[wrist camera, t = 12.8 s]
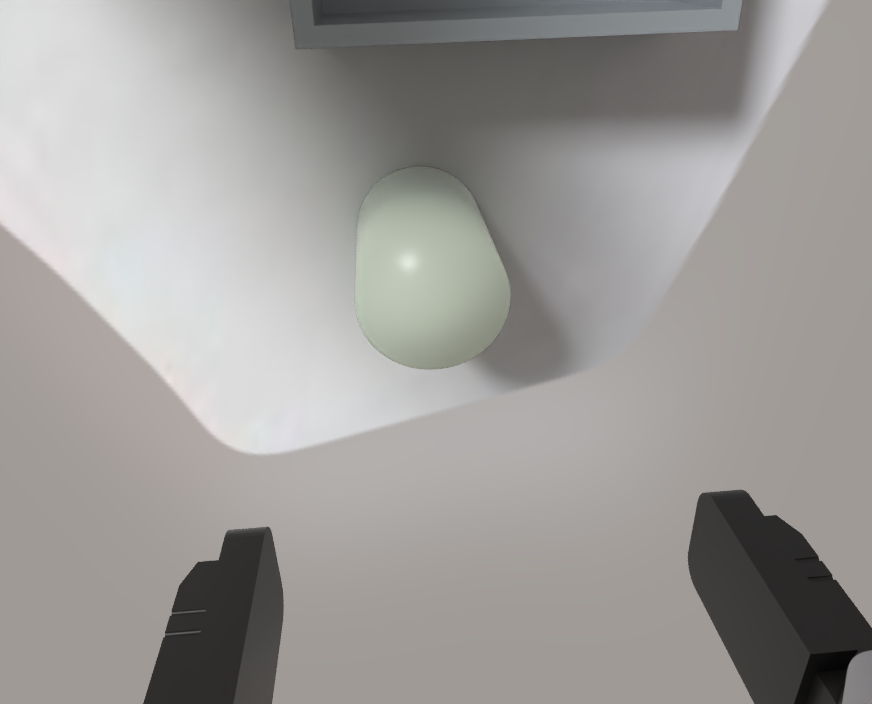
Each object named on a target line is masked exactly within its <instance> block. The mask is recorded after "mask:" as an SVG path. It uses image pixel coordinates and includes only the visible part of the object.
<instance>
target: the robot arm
mask: <svg viewBox="0 0 872 704" xmlns="http://www.w3.org/2000/svg"><path fill="white" fill-rule="evenodd" d="M688 565H689V571H690V575H691V579H692V582H693V584H694V586H695V589H696V591H697V593H698V595H699V597H700V598H701V600H702V602H703V604H704V606H705V608H706V610H707V612H708V614H709V616H710V618H711V620H712V622H713V624H714V626H715V628H716V630H717V632H718V634H719V636H720V637H721V639H722V641H723V643H724V645H725V647H726V649H727V651H728V653H729V655H730V657H731V659H732V661H733V663H734V665H735V667H736V669H737V671H738V673H739V674H740V676H741V678H742V680H743V682H744V684H745V686H746V688H747V690H748V692H749V694H750V696H751V698H752V700H753V702H754V704H872V628H871V627H870V625H869V624H868V622H867V621H866V620H865V618H864V617H863V615H862V614H861V613H860V611H859V610H858V609H857V607H856V606H855V605H854V603H853V602H852V601H851V599H850V598H849V597H848V596H847V594H846V593H845V591H844V590H843V589H842V587H841V586H840V585H839V583H838V582H837V581H836V580H833V578H832V574H831V573H830V571H829V570H828V569H827V567H826V566H825V565H824V563H823V562H822V561H819V558H818V555H817V554H816V553H815V551H814V550H813V548H812V547H811V546H810V544H809V543H808V542H807V540H806V539H805V538H804V536H803V535H802V534H801V533H800V532H798V531H797V530H796V529H794V528H793V527H791V526H790V525H789V524H787V523H786V522H785V521H783V520H782V519H780V518H779V517H778V516H776V515H773V516H764V515H763V514H762V512H761V511H760V509H759V508H758V507H757V505H756V504H755V502H754V501H753V499H752V498H751V497H750V495H749V494H748V493H747V492H746V491H744V490H733V491H720V492H709V493H702V494H701V495H700V497H699V499H698V503H697V508H696V514H695V519H694V524H693V530H692V535H691V541H690V546H689V552H688ZM283 606H284V605H283V589H282V582H281V578H280V572H279V567H278V563H277V557H276V552H275V547H274V542H273V537H272V532H271V530H270V528H269V527H260V528H248V529H236V530H228V531H227V532H226V535H225V538H224V542H223V546H222V550H221V554H220V557H219V560H218V561H217V560H216V561H204V562H198V563H197V564H196V565H195V567H194V568H193V569H192V570H191V571H190V573H189V574H188V575H187V577H186V578H185V579H184V580H183V582H182V583H181V584H180V586H179V588H178V592H177V595H176V598H175V602H174V605H173V608H172V616H170V618H169V621H168V624H167V628H166V631H165V638H163V641H162V644H161V647H160V651H159V654H158V657H157V661H156V664H155V667H154V671H153V674H152V677H151V680H150V684H149V687H148V690H147V693H146V697H145V700H144V703H143V704H272V698H273V691H274V683H275V676H276V668H277V660H278V653H279V645H280V638H281V631H282V623H283Z"/></svg>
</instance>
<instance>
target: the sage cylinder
mask: <svg viewBox="0 0 872 704" xmlns="http://www.w3.org/2000/svg"><path fill="white" fill-rule="evenodd" d="M510 300H511V291H510V284H509V279H508V276H507V273H506V271H505V268H504V266H503V263H502V261H501V259H500V257H499V254H498V252H497V250H496V247H495V245H494V243H493V240H492V238H491V236H490V234H489V231H488V229H487V227H486V224H485V222H484V220H483V218H482V215H481V213H480V211H479V208H478V206H477V204H476V201H475V199H474V198H473V196H472V194H471V193H470V191H469V190H468V189H467V187H466V186H465V185H464V184H463V183H462V182H461V181H460V180H458V179H457V178H456V177H454V176H452V175H451V174H449V173H447V172H445V171H442V170H440V169H436V168H432V167H424V166H417V167H408V168H404V169H400V170H397V171H395V172H393V173H390V174H389V175H387V176H385V177H384V178H382V179H381V180H380V181H379V182H377V183H376V184H375V185H374V186H373V187H372V188H371V190H370V191H369V192H368V194H367V195H366V197H365V199H364V200H363V202H362V205H361V207H360V210H359V214H358V221H357V245H356V280H355V310H356V315H357V319H358V322H359V325H360V327H361V329H362V331H363V333H364V335H365V336H366V338H367V339H368V341H369V342H370V343H371V344H372V345H373V346H374V347H375V348H376V349H377V350H378V351H379V352H380V353H381V354H383V355H384V356H386V357H387V358H389V359H391V360H392V361H395V362H397V363H399V364H402V365H405V366H408V367H412V368H418V369H442V368H448V367H452V366H455V365H458V364H461V363H463V362H466V361H468V360H470V359H472V358H474V357H475V356H477V355H478V354H480V353H481V352H482V351H484V350H485V349H486V348H487V347H488V346H489V345H490V344H491V343H492V342H493V341H494V340H495V338H496V337H497V336H498V334H499V333H500V331H501V330H502V328H503V326H504V324H505V322H506V319H507V316H508V313H509V308H510Z"/></svg>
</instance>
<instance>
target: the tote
mask: <svg viewBox="0 0 872 704" xmlns="http://www.w3.org/2000/svg"><path fill="white" fill-rule="evenodd" d="M290 6H291V14H292V23H293V31H294V40H295V48H296V49H312V48H335V47H358V46H381V45H404V44H427V43H450V42H474V41H497V40H520V39H543V38H566V37H589V36H612V35H635V34H658V33H681V32H704V31H727V30H738V25H739V19H740V13H741V6H742V0H290Z"/></svg>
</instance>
